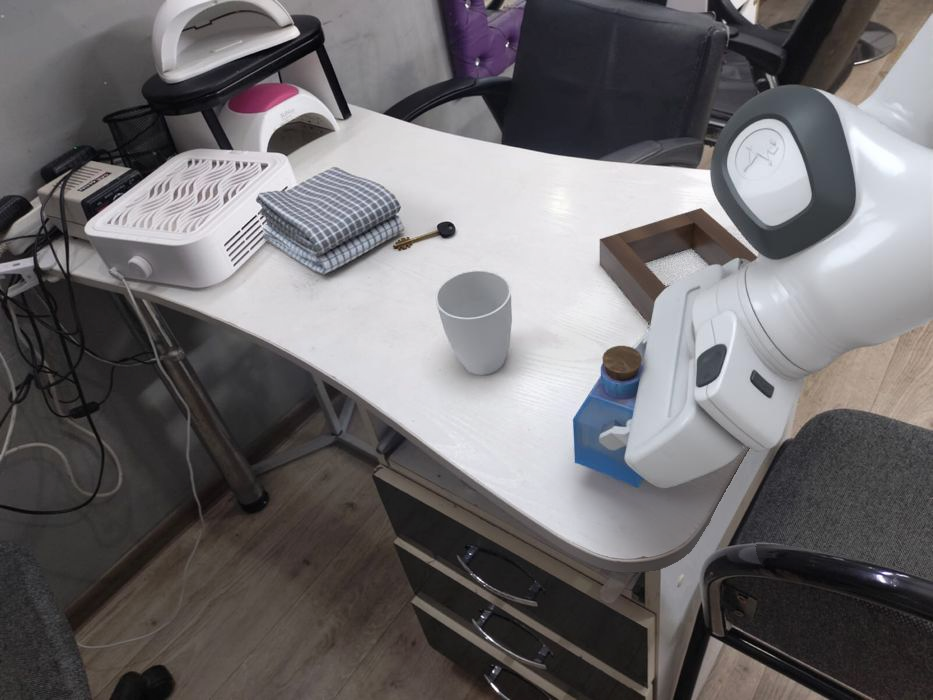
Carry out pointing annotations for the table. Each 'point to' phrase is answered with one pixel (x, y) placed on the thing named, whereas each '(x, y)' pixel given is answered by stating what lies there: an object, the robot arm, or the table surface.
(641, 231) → the stand
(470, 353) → the cup
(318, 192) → the towel
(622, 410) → the perfume bottle
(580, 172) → the table surface
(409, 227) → the table surface
